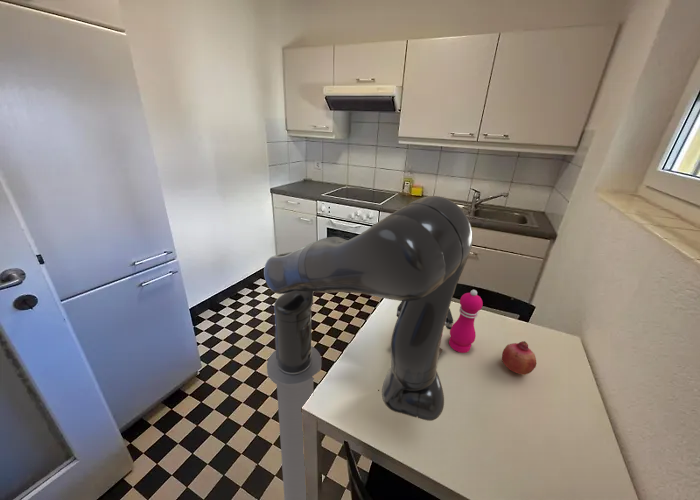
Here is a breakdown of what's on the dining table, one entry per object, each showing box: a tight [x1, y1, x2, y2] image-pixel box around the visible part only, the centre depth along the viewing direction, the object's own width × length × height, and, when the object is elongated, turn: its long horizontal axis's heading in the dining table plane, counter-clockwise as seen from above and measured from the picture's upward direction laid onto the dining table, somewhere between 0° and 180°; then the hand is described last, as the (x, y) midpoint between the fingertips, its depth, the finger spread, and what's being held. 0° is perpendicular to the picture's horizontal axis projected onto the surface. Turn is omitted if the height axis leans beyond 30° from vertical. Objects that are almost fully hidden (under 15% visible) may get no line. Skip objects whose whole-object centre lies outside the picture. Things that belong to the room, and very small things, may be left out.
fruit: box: [501, 340, 537, 376], centre depth 76 cm, size 8×8×10 cm
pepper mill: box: [448, 289, 484, 354], centre depth 82 cm, size 7×7×20 cm
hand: (426, 298), depth 78 cm, fingers closed on beverage can, 5 cm apart
